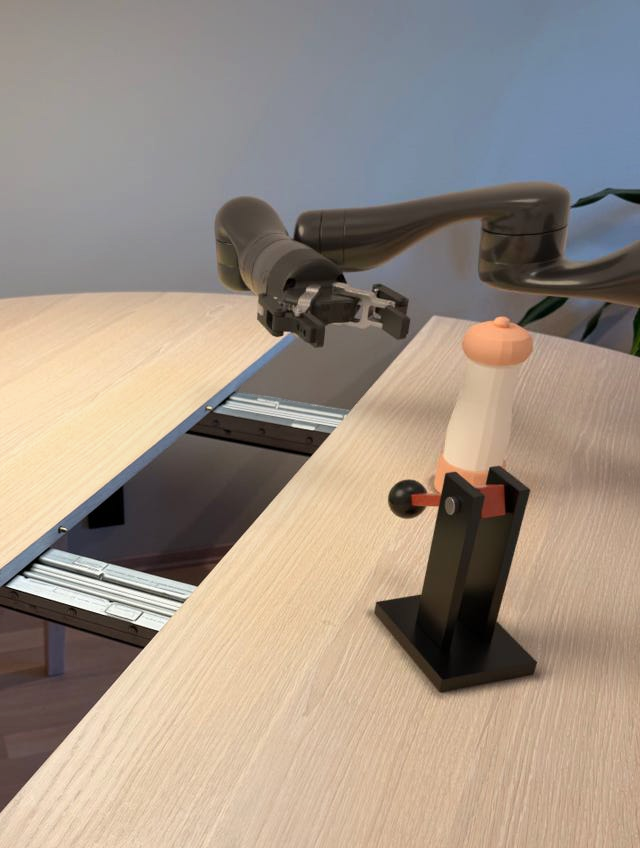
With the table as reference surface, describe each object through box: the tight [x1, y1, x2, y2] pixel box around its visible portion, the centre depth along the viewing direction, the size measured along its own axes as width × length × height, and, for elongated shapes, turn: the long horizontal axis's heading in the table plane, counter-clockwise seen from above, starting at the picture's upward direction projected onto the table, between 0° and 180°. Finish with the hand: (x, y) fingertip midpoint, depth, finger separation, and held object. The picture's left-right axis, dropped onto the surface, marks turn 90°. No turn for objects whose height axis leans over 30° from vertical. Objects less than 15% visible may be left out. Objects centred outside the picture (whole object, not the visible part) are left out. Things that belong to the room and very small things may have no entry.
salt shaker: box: [433, 316, 534, 494], centre depth 105 cm, size 7×7×19 cm
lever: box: [387, 478, 505, 520], centre depth 84 cm, size 15×4×4 cm, turn 17°
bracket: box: [373, 466, 538, 693], centre depth 82 cm, size 12×9×16 cm
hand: (362, 333), depth 92 cm, fingers open, 8 cm apart
